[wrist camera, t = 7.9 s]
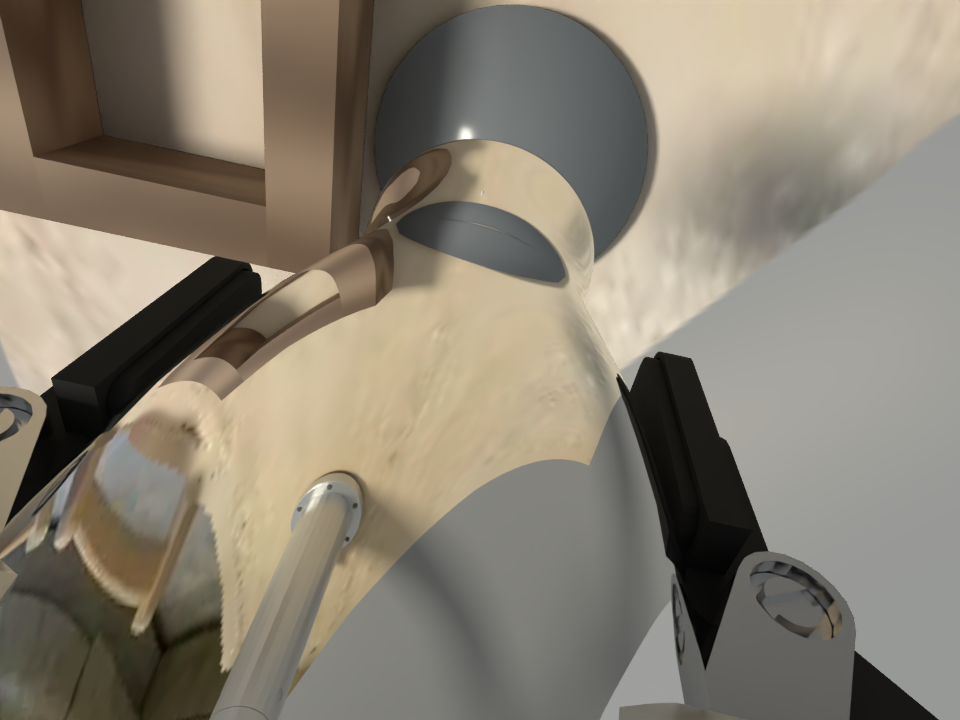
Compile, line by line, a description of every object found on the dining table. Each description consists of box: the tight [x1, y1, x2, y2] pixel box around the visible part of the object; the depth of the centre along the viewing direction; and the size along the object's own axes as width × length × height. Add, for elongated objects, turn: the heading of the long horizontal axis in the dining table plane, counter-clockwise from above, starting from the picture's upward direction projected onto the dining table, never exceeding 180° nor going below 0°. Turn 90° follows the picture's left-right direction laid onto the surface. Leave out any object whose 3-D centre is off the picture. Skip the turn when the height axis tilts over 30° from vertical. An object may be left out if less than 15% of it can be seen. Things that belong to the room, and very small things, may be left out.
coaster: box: [374, 5, 647, 258], centre depth 24 cm, size 11×11×1 cm
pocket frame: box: [0, 0, 374, 273], centre depth 21 cm, size 14×14×4 cm
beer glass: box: [0, 138, 712, 720], centre depth 10 cm, size 7×7×15 cm
